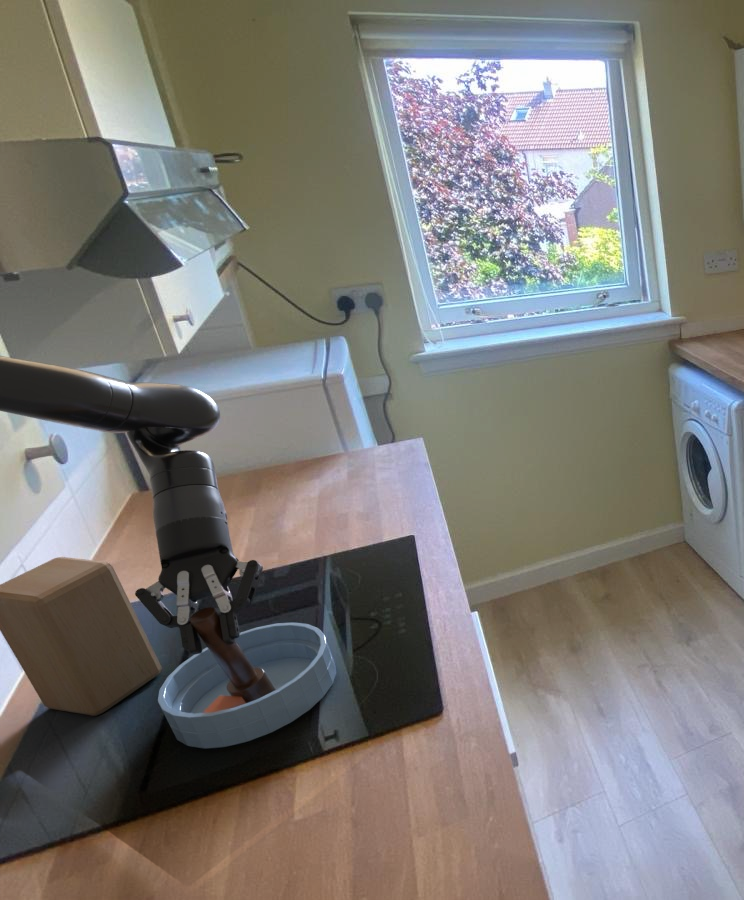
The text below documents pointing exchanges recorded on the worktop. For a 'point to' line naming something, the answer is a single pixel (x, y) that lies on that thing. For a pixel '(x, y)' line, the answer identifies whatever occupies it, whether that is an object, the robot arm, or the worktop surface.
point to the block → (225, 703)
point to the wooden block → (76, 635)
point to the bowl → (297, 690)
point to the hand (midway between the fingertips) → (213, 647)
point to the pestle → (231, 658)
